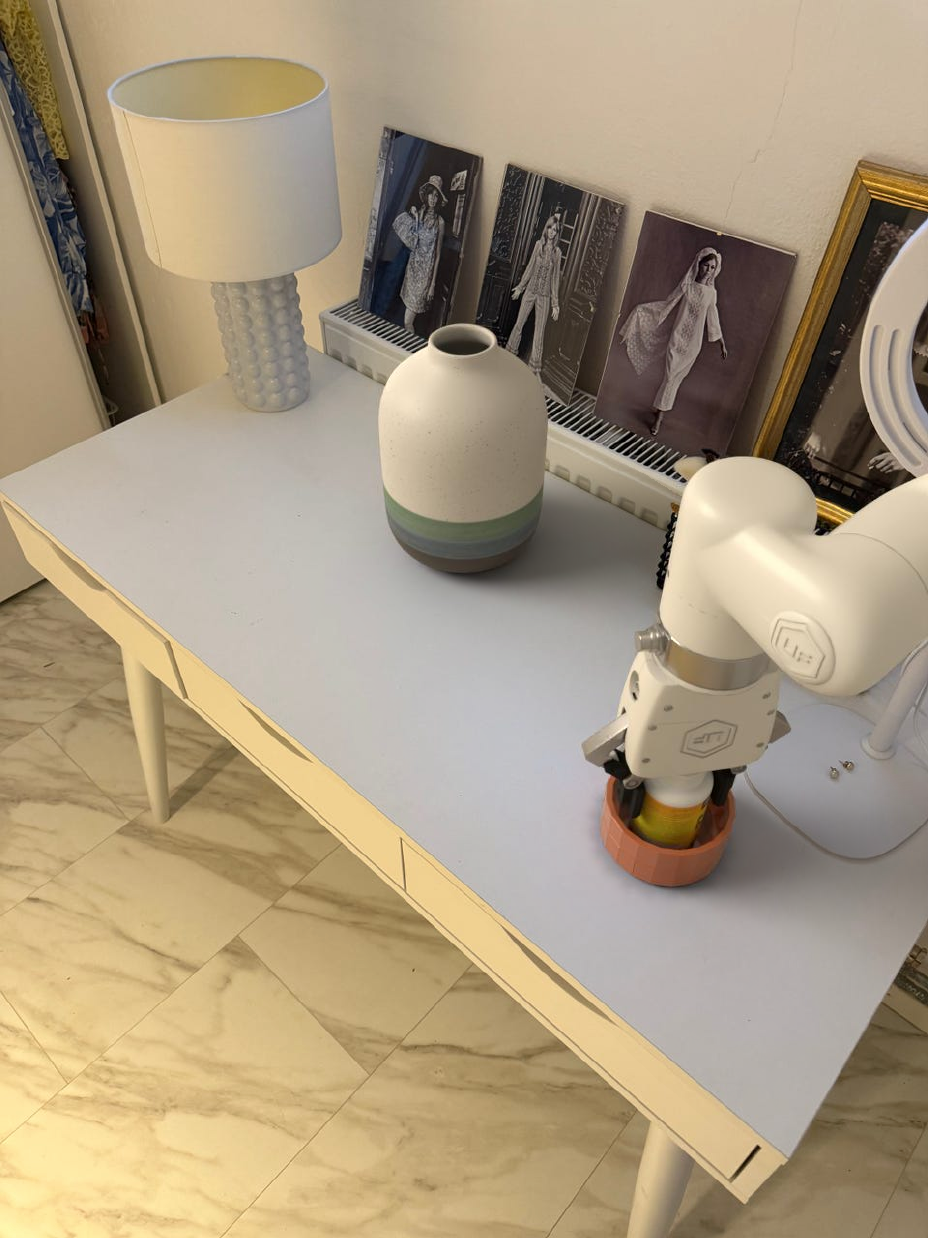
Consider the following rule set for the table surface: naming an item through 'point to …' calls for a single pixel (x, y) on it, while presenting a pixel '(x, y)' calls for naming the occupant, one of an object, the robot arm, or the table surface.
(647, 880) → the bowl
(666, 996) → the table surface
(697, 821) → the supplement bottle
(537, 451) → the vase
